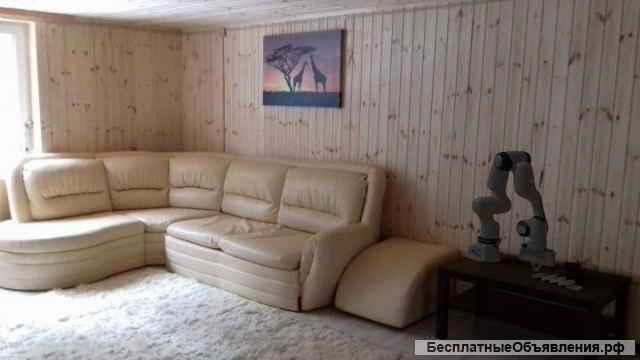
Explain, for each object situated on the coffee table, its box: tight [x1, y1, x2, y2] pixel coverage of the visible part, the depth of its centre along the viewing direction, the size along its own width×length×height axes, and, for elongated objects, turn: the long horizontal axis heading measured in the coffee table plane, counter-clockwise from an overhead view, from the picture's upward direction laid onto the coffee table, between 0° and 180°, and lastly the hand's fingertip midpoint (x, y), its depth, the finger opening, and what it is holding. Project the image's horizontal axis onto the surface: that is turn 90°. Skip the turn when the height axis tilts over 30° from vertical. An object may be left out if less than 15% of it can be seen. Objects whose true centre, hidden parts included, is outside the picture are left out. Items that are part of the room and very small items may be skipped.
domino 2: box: [540, 273, 559, 282], centre depth 310 cm, size 2×4×7 cm
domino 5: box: [564, 283, 584, 291], centre depth 299 cm, size 2×4×7 cm
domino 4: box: [557, 279, 576, 286], centre depth 302 cm, size 2×4×7 cm
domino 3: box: [548, 276, 567, 284], centre depth 306 cm, size 2×4×7 cm
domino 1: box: [531, 272, 549, 279], centre depth 314 cm, size 2×4×7 cm
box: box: [563, 261, 581, 279], centre depth 321 cm, size 6×6×7 cm
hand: (536, 270), depth 315 cm, fingers closed
